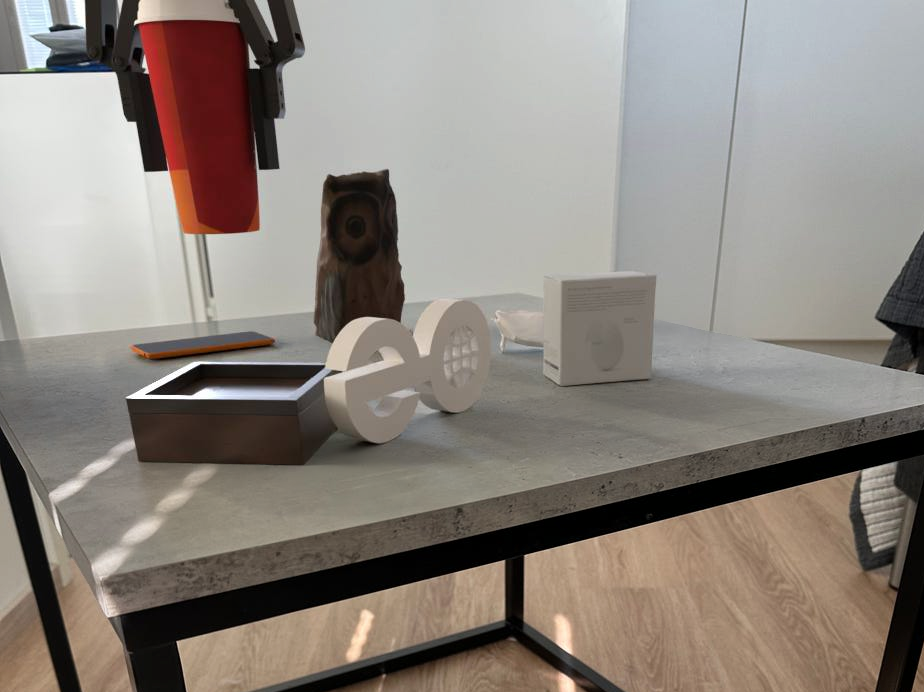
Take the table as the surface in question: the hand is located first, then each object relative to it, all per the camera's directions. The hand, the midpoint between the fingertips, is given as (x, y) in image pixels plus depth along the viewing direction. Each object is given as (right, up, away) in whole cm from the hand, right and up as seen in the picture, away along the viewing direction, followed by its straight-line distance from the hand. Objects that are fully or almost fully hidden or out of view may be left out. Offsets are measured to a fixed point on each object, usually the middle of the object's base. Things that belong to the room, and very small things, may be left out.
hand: (212, 170), depth 71 cm
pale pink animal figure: (+28, -1, +42) cm, 51 cm away
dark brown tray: (0, -19, +10) cm, 21 cm away
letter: (+15, -16, +14) cm, 26 cm away
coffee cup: (0, -4, +2) cm, 5 cm away
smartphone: (-15, +1, +47) cm, 49 cm away
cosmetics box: (+33, -8, +29) cm, 45 cm away
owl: (+4, +4, +53) cm, 53 cm away
